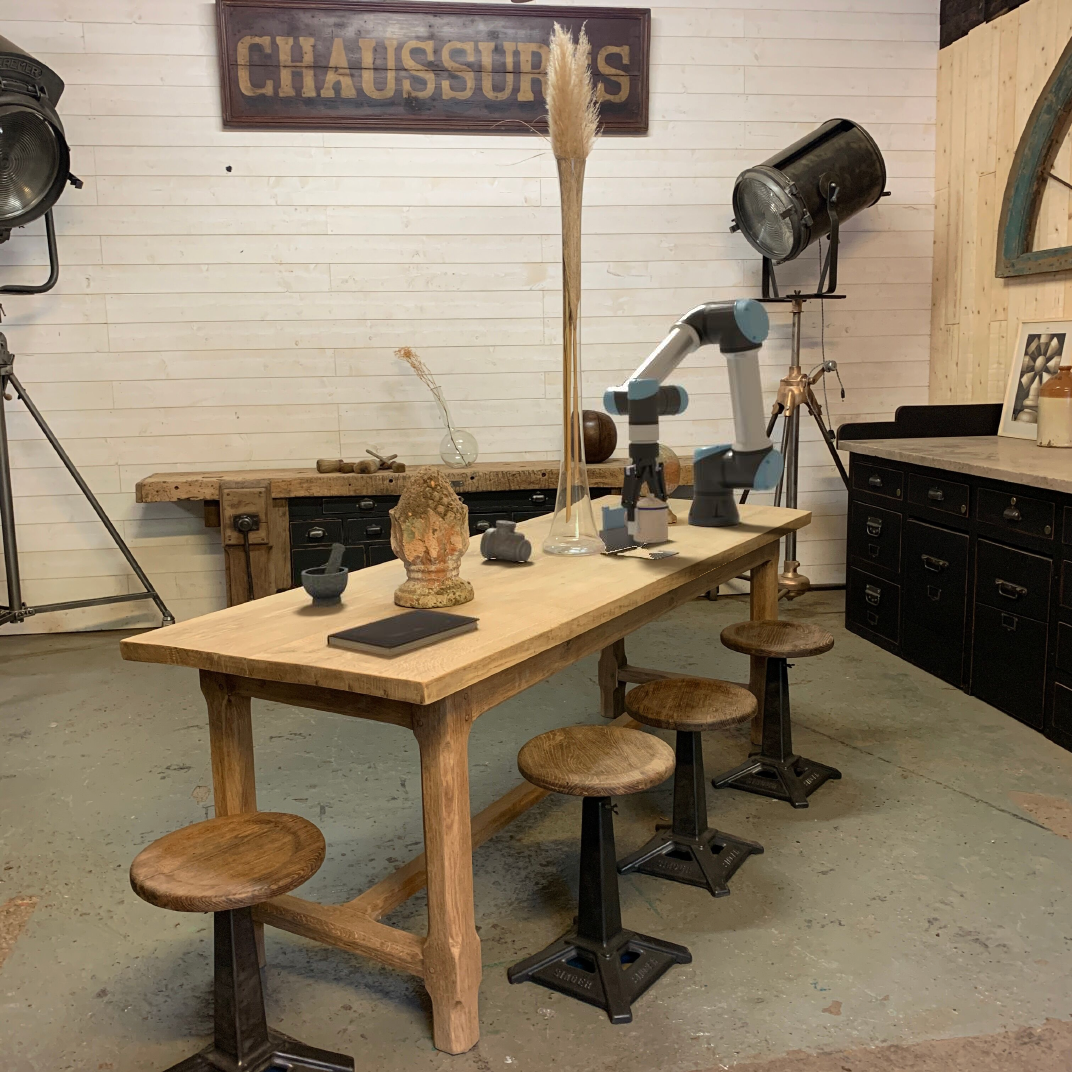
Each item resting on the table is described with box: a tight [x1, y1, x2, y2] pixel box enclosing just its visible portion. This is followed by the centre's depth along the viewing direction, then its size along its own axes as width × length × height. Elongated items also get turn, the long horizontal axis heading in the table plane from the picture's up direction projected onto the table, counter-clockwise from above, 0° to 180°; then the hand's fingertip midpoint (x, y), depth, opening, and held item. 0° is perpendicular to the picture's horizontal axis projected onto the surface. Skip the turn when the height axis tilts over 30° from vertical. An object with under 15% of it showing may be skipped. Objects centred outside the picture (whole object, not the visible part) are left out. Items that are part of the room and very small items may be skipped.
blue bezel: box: [601, 505, 627, 531], centre depth 265 cm, size 10×1×6 cm, turn 138°
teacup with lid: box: [624, 492, 670, 544], centre depth 258 cm, size 12×9×12 cm
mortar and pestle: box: [300, 543, 349, 608], centre depth 216 cm, size 11×9×12 cm
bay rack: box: [598, 526, 680, 560], centre depth 267 cm, size 27×17×6 cm, turn 138°
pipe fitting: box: [479, 520, 533, 562], centre depth 257 cm, size 12×8×10 cm
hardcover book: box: [326, 608, 480, 657], centre depth 188 cm, size 16×23×2 cm
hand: (644, 531), depth 259 cm, fingers closed on teacup with lid, 9 cm apart
